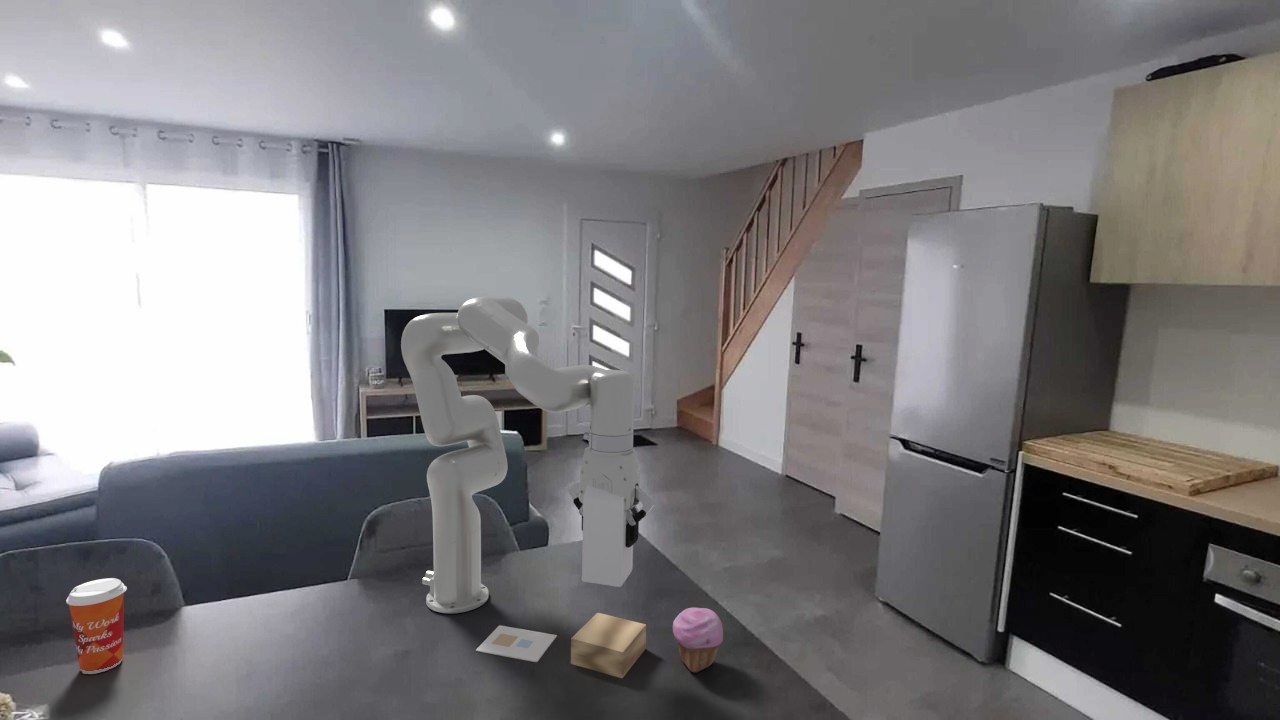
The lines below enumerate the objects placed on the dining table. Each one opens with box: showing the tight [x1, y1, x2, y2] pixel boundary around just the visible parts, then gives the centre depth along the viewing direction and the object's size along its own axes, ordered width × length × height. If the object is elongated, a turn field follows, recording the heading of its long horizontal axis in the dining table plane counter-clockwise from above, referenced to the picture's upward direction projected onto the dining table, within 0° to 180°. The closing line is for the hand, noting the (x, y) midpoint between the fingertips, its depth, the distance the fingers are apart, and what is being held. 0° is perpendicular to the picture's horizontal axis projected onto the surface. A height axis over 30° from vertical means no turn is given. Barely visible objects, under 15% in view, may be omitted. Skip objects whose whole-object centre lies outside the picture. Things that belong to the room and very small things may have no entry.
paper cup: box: [65, 577, 128, 671], centre depth 109 cm, size 8×8×14 cm
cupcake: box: [672, 607, 724, 673], centre depth 113 cm, size 9×9×10 cm
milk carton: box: [581, 485, 634, 588], centre depth 112 cm, size 7×7×19 cm
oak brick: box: [570, 612, 647, 679], centre depth 115 cm, size 10×10×5 cm
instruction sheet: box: [475, 624, 558, 663], centre depth 119 cm, size 12×9×1 cm
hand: (609, 539), depth 113 cm, fingers closed on milk carton, 7 cm apart
